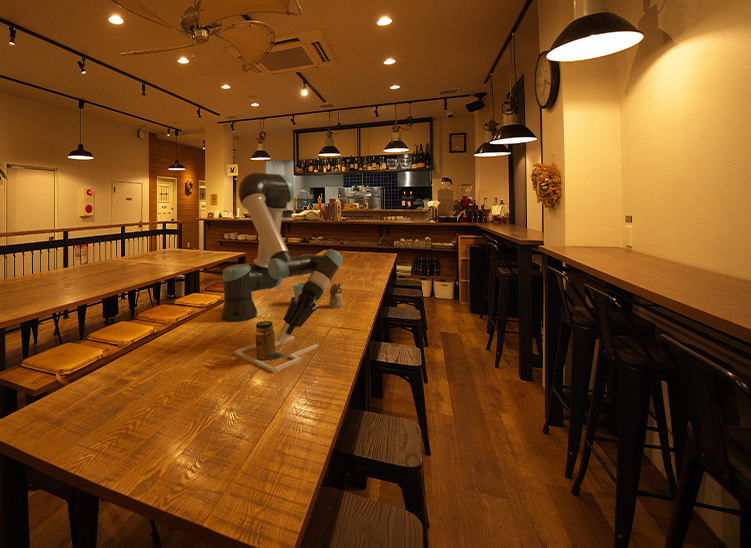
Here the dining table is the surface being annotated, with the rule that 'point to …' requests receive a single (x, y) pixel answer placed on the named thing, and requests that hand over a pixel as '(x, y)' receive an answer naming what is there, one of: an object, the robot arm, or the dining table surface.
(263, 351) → the condiment
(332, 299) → the figurine
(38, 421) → the dining table surface
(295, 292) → the cup
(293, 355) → the t outline
